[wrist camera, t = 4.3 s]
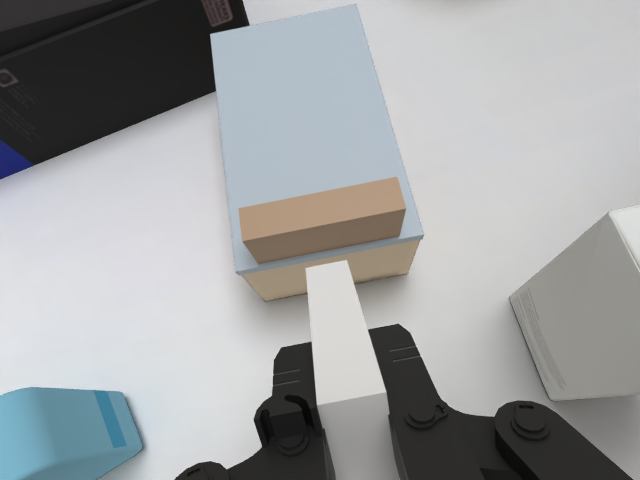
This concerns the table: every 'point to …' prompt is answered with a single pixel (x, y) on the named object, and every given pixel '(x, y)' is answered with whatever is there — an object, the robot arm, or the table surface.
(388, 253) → the open wooden box
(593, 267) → the skincare box
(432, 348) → the table surface
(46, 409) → the data package
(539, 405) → the robot arm
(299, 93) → the lid
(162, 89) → the headphone box
